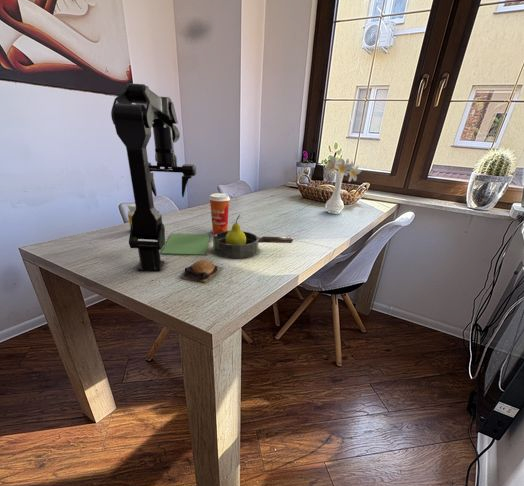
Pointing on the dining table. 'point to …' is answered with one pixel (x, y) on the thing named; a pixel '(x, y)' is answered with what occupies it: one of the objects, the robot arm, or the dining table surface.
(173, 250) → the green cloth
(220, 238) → the pan
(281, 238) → the pan handle
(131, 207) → the supplement bottle
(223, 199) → the paper cup
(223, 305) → the dining table surface
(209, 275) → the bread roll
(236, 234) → the fruit
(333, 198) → the flower vase
